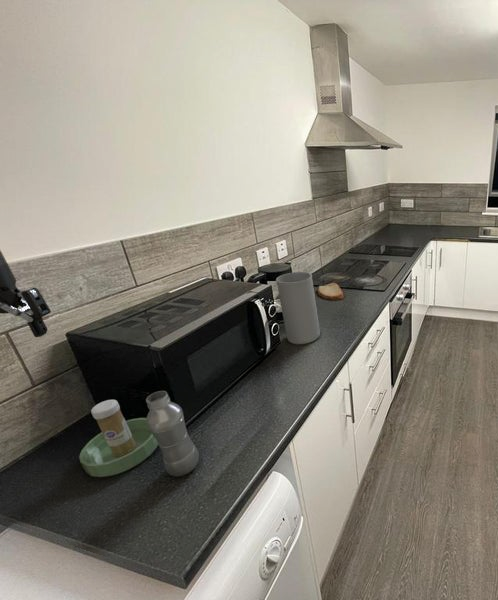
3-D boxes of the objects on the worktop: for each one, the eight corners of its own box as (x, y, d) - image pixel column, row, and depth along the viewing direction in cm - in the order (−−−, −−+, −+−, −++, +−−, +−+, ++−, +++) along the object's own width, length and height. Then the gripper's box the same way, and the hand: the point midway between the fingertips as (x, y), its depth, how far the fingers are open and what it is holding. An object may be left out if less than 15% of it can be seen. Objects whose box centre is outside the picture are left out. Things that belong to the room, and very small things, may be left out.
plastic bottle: (170, 486, 68) (137, 413, 60) (166, 466, 73) (135, 395, 65) (204, 469, 72) (177, 397, 64) (198, 450, 77) (173, 382, 69)
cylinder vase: (290, 348, 119) (278, 285, 110) (285, 334, 130) (274, 275, 120) (323, 340, 124) (314, 279, 114) (316, 327, 135) (308, 270, 125)
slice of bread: (341, 300, 160) (340, 293, 159) (308, 298, 164) (307, 291, 163) (354, 288, 176) (353, 281, 175) (324, 286, 180) (323, 280, 179)
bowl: (70, 484, 69) (62, 471, 68) (111, 435, 82) (105, 423, 81) (143, 471, 72) (137, 458, 70) (172, 425, 85) (167, 413, 83)
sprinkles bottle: (111, 461, 74) (87, 415, 69) (115, 447, 78) (92, 403, 72) (136, 452, 76) (114, 407, 71) (138, 439, 80) (118, 396, 75)
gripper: (36, 257, 67) (69, 326, 73) (-47, 262, 64) (-5, 333, 71) (2, 267, 60) (42, 342, 66) (-92, 274, 58) (-41, 351, 64)
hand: (18, 337), depth 68 cm, fingers open, 8 cm apart
